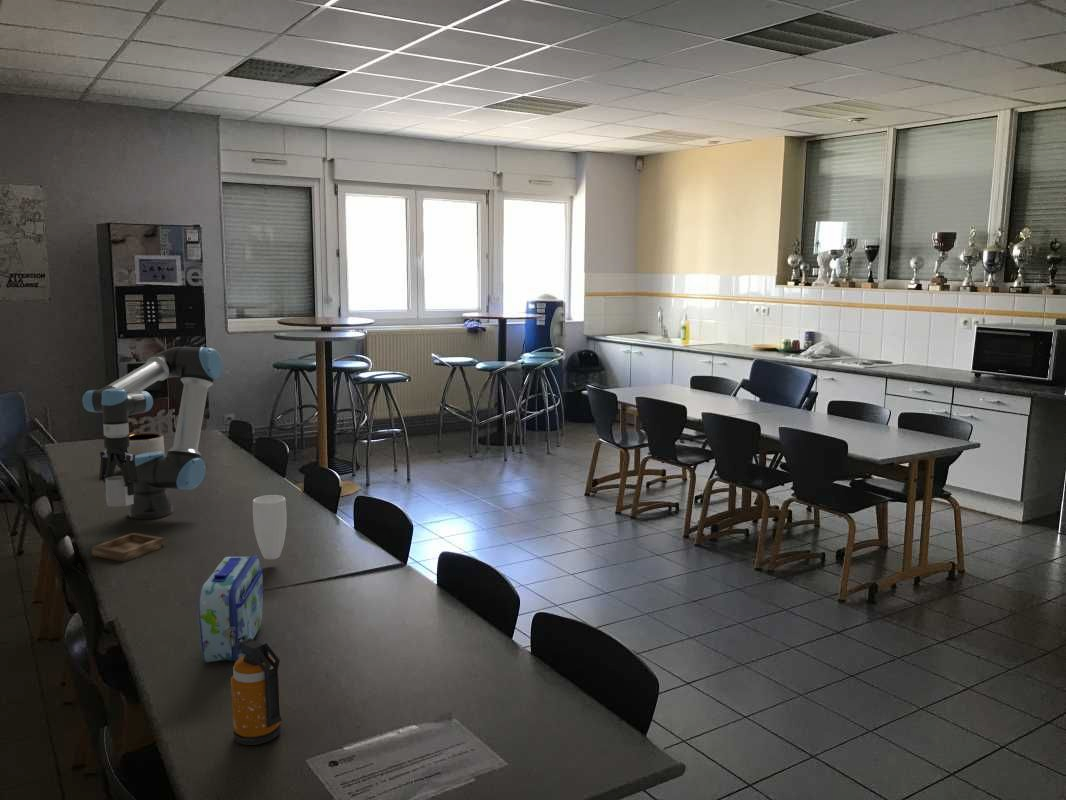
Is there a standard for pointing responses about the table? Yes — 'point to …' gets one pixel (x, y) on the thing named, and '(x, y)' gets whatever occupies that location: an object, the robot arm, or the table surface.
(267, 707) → the canister
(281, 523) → the cup
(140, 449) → the planter
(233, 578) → the lunch box
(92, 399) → the robot arm
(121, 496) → the cup
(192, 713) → the table surface
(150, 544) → the tray
